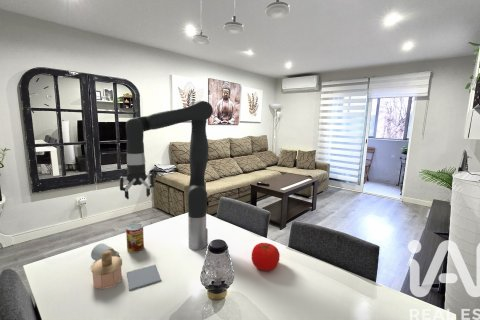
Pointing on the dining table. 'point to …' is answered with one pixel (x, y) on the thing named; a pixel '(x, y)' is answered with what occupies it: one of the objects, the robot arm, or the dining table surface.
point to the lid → (106, 264)
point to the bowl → (107, 279)
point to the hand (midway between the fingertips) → (137, 197)
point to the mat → (143, 277)
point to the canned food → (135, 237)
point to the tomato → (265, 256)
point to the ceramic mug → (100, 248)
